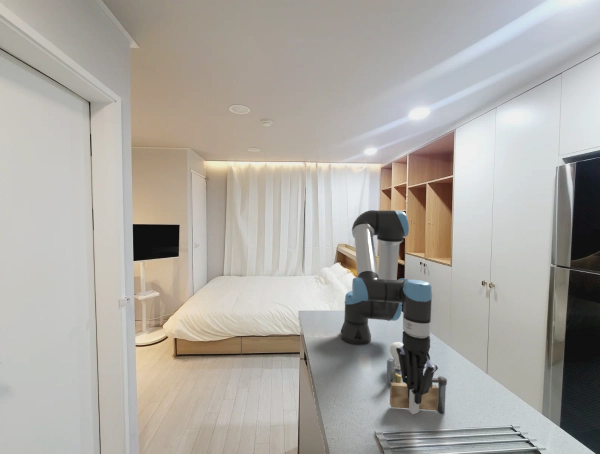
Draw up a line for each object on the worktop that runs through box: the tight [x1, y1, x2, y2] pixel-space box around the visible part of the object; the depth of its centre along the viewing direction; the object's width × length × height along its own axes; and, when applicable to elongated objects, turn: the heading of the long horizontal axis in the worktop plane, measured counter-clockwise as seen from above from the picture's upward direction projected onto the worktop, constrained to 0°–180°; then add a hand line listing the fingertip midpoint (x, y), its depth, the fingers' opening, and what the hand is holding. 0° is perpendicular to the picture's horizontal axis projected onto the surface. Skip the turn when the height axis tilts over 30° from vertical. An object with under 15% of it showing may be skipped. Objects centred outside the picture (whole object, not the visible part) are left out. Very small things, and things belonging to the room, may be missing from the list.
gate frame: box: [385, 357, 447, 415], centre depth 84 cm, size 19×3×9 cm, turn 43°
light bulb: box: [389, 341, 403, 371], centre depth 99 cm, size 7×7×11 cm
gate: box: [389, 375, 448, 412], centre depth 78 cm, size 17×2×10 cm, turn 87°
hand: (414, 411), depth 75 cm, fingers closed
